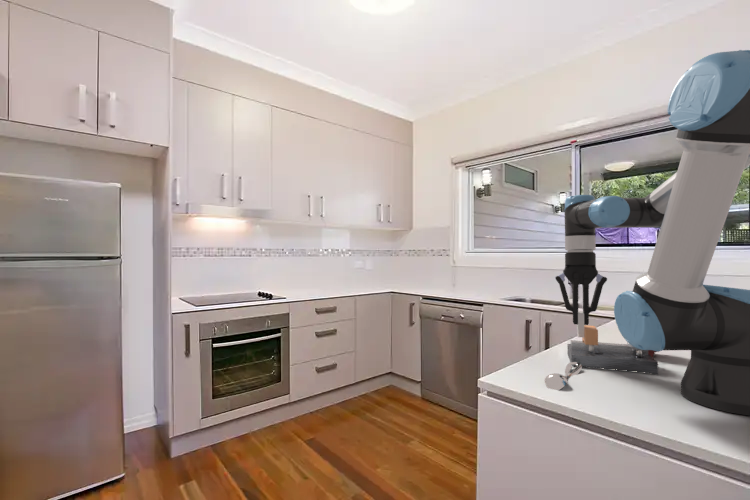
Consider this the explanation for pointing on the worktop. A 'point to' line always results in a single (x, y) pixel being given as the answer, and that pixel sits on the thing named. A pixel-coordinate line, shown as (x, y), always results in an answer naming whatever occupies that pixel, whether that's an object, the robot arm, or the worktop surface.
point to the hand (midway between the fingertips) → (580, 336)
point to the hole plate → (613, 360)
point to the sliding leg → (590, 337)
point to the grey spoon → (561, 377)
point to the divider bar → (609, 348)
